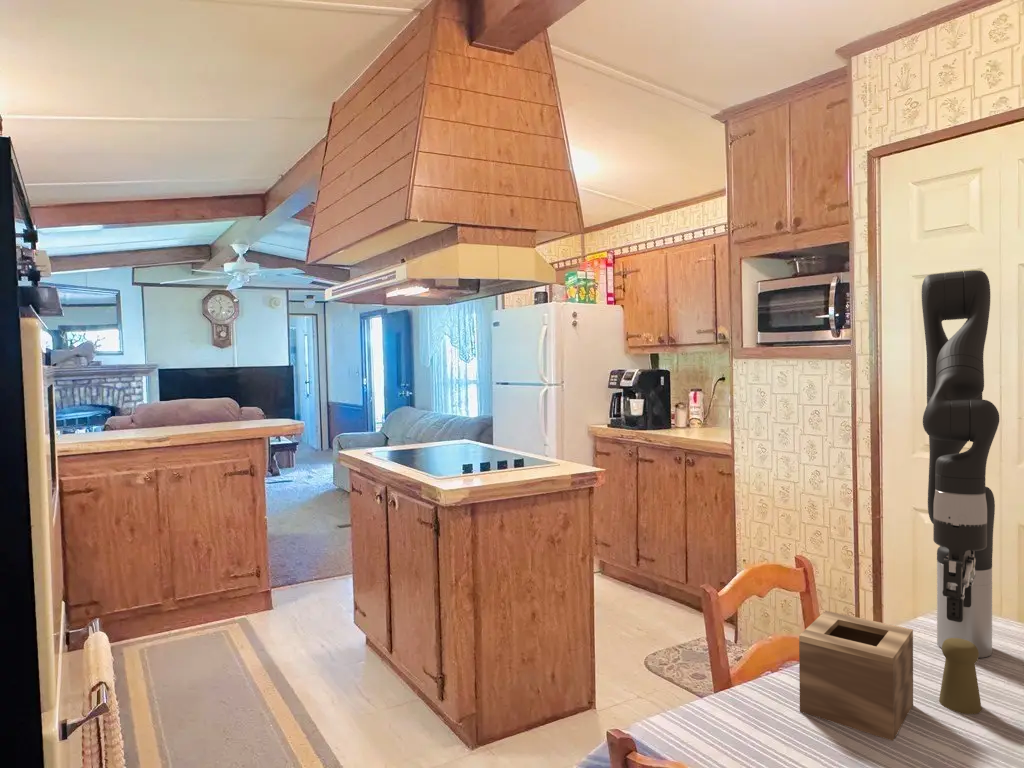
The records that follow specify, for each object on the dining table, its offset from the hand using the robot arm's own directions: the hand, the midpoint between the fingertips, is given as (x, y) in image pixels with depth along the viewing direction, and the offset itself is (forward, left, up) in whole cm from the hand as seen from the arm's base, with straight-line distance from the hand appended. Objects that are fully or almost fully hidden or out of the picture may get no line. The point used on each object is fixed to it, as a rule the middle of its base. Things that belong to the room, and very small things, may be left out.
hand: (959, 613), depth 114 cm
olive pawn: (0, 0, -16) cm, 16 cm away
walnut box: (+12, -13, -16) cm, 24 cm away
